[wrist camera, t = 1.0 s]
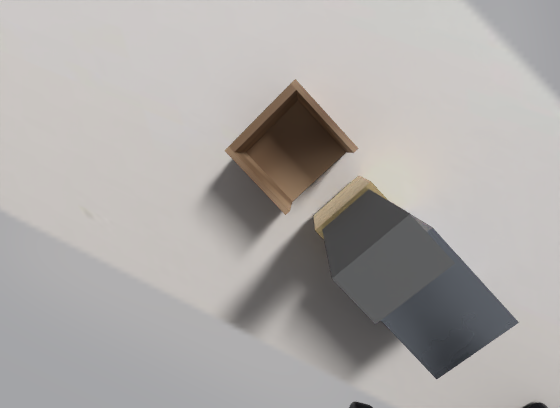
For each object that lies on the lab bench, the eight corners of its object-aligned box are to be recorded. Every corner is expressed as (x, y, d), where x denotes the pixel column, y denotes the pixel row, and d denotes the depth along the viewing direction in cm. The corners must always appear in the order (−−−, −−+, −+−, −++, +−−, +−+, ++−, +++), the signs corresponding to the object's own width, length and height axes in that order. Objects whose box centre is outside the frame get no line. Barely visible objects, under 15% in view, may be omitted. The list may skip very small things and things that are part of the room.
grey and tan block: (456, 282, 19) (607, 416, 9) (409, 317, 19) (507, 476, 10) (358, 175, 18) (413, 201, 9) (313, 215, 19) (320, 280, 9)
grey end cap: (467, 280, 19) (518, 322, 15) (406, 326, 20) (436, 379, 15) (400, 208, 19) (432, 227, 14) (342, 257, 20) (353, 291, 15)
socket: (349, 148, 19) (358, 148, 15) (289, 203, 19) (285, 214, 16) (297, 92, 18) (295, 79, 15) (239, 150, 19) (224, 150, 16)
